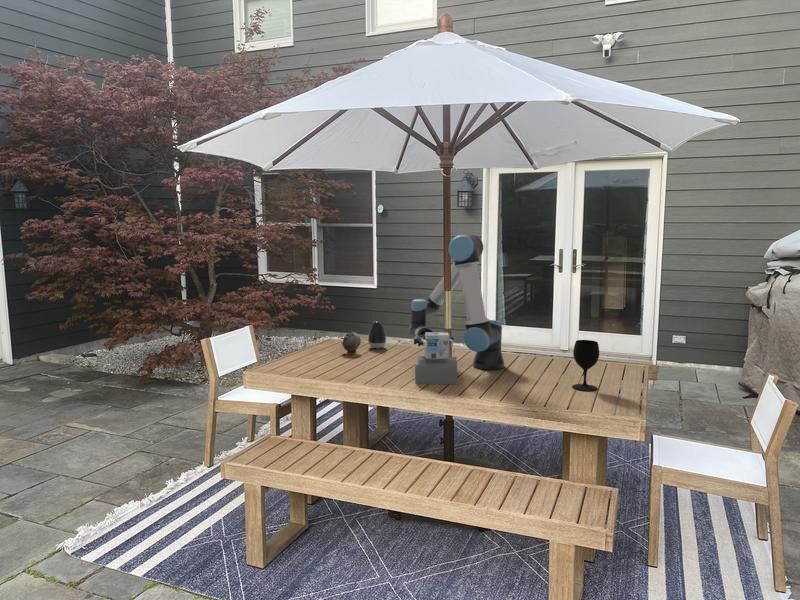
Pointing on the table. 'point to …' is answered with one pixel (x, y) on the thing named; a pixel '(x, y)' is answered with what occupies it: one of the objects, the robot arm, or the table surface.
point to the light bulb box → (437, 345)
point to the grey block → (436, 370)
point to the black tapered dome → (377, 335)
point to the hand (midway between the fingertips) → (439, 344)
